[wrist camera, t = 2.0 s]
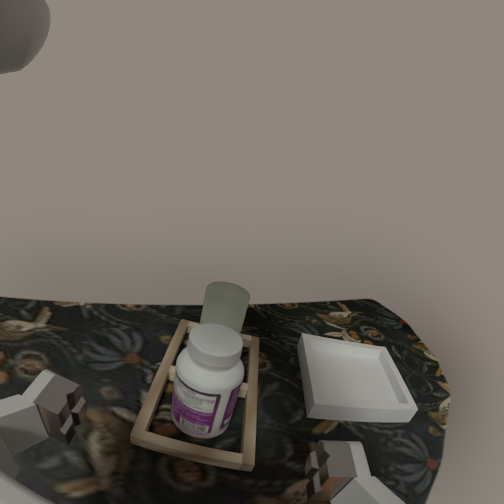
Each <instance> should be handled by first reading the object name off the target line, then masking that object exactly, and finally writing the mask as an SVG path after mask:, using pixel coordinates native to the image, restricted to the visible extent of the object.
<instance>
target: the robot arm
mask: <svg viewBox="0 0 504 504" xmlns="http://www.w3.org/2000/svg"><path fill="white" fill-rule="evenodd" d="M49 26H50V12H49V8H48V5H47V3H46V1H45V0H0V74H4V73H9V72H14V71H20V70H21V69H23V68H24V67H25V66H26V65H28V64H29V63H30V62H31V61H32V60H33V59H34V57H35V56H36V55H37V54H38V52H39V51H40V49H41V48H42V46H43V44H44V42H45V40H46V38H47V35H48V31H49ZM83 394H84V391H83V386H81V385H78V384H76V383H74V382H72V381H70V380H68V379H66V378H63V377H61V376H59V375H57V374H55V373H53V372H51V371H49V370H47V369H46V370H43V371H42V372H41V373H40V374H39V376H38V377H37V378H36V379H35V380H34V381H33V383H32V384H31V385H30V386H29V387H28V389H27V390H26V391H25V392H24V393H23V395H22V396H21V395H19V394H18V395H15V396H12V397H8V398H5V399H2V400H0V504H55V503H53V502H51V501H49V500H47V499H46V498H44V497H42V496H40V495H39V494H37V493H35V492H33V491H32V490H30V489H28V488H27V487H25V486H23V485H22V484H20V483H19V482H17V481H16V480H14V479H15V477H16V476H17V474H18V472H19V470H20V469H19V466H18V464H17V463H16V461H15V460H14V458H13V457H12V456H13V455H15V454H17V453H19V452H21V451H23V450H25V449H27V448H29V447H31V446H33V445H35V444H37V443H39V442H41V441H42V440H44V439H46V438H48V436H50V437H52V438H54V439H56V440H58V441H60V442H62V443H64V444H67V445H69V444H70V442H71V440H72V438H73V437H74V435H75V433H76V431H75V426H77V425H80V424H81V423H82V421H83V419H84V416H85V413H86V401H85V400H84V399H83V397H82V395H83ZM305 476H306V477H307V478H308V479H309V480H310V482H309V483H308V484H307V485H306V487H307V497H308V500H315V501H330V502H331V504H405V503H404V502H403V501H402V500H401V499H400V498H398V497H397V496H396V495H395V494H394V493H393V492H392V491H390V490H389V489H388V488H387V487H386V486H385V485H384V484H383V483H381V482H380V481H379V480H378V479H377V478H376V477H375V476H374V477H371V474H370V470H369V467H368V463H367V460H366V456H365V453H364V449H363V446H362V443H361V442H346V441H319V442H318V443H317V444H316V445H315V451H313V452H311V453H310V454H309V456H308V457H307V460H306V464H305Z"/></svg>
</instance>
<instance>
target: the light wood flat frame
mask: <svg viewBox="0 0 504 504" xmlns="http://www.w3.org/2000/svg"><path fill="white" fill-rule="evenodd" d="M198 325H200V324H199V323H195V322H191V321H187V320H183V319H181V322H180V324H179V326H178V328H177V330H176V332H175V334H174V337H173V339H172V341H171V343H170V345H169V348H168V350H167V352H166V354H165V356H164V358H163V361H162V363H161V365H160V367H159V370H158V372H157V374H156V376H155V379H154V381H153V383H152V385H151V388H150V390H149V392H148V394H147V397H146V399H145V401H144V404H143V406H142V408H141V410H140V413H139V415H138V417H137V420H136V422H135V424H134V427H133V429H132V432H131V434H130V443H131V444H134V445H137V446H140V447H144V448H147V449H150V450H153V451H157V452H160V453H164V454H167V455H171V456H175V457H178V458H182V459H186V460H191V461H195V462H199V463H204V464H209V465H214V466H219V467H224V468H230V469H236V470H243V471H250V472H251V471H252V469H253V467H254V465H255V442H256V416H257V389H258V359H259V337H254V336H250V335H245V334H241V333H240V337H241V338H242V341H243V347H247V348H249V353H248V365H247V378H246V383H242V384H241V387H240V391H239V394H238V397H243V398H245V402H244V415H243V427H242V439H241V451H240V453H234V452H229V451H223V450H218V449H213V448H208V447H204V446H199V445H195V444H191V443H187V442H183V441H179V440H175V439H171V438H168V437H164V436H161V435H157V434H154V433H151V432H148V429H149V427H150V424H151V421H152V419H153V416H154V414H155V411H156V408H157V406H158V403H159V400H160V398H161V395H162V393H163V390H164V388H165V385H166V382H167V380H171V381H174V376H175V368H176V367H175V366H173V365H174V362H175V360H176V357H177V355H178V352H179V350H180V347H181V345H182V342H183V340H184V337H185V335H186V333H189V334H190V332H191V330H192V329H193V328H194V327H196V326H198Z"/></svg>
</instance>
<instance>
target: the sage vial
mask: <svg viewBox="0 0 504 504" xmlns="http://www.w3.org/2000/svg"><path fill="white" fill-rule="evenodd" d="M249 299H250V295H249V293H248V292H247V291H246V290H245V289H244V288H242V287H240V286H238V285H235V284H232V283H228V282H213V283H211V284H209V285H208V286H207V288H206V293H205V299H204V304H203V309H202V314H201V320H200V325H201V324H207V323H212V324H220V325H224V326H226V327H229V328H231V329H233V330H234V331H236V332H237V333H238V334H239V335H240V333H241V329H242V325H243V322H244V318H245V314H246V310H247V307H248V303H249Z"/></svg>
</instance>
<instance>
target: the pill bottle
mask: <svg viewBox="0 0 504 504" xmlns="http://www.w3.org/2000/svg"><path fill="white" fill-rule="evenodd" d="M242 347H243V341H242V338H241V337H240V335H239V334H238V333H237V332H236V331H234V330H233V329H231V328H229V327H226V326H224V325H220V324H212V323H207V324H201V325H198V326H196V327H194V328H193V329H192V330H191V332H190V334H189V339H188V343H187V347H186V348H185V349H183V350H182V351H181V353H180V354H179V356H178V358H177V361H176V368H175V376H174V386H173V396H172V407H171V415H172V419H173V421H174V423H175V425H176V426H177V427H178V428H179V429H180V430H181V431H182V432H183V433H185V434H187V435H190V436H192V437H196V438H213V437H216V436H218V435H220V434H222V433H223V432H224V431H225V430H226V429H227V427H228V425H229V422H230V419H231V416H232V413H233V410H234V407H235V404H236V401H237V397H238V394H239V391H240V387H241V384H242V381H243V378H244V366H243V363H242V361H241V359H240V356H241V352H242Z"/></svg>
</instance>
